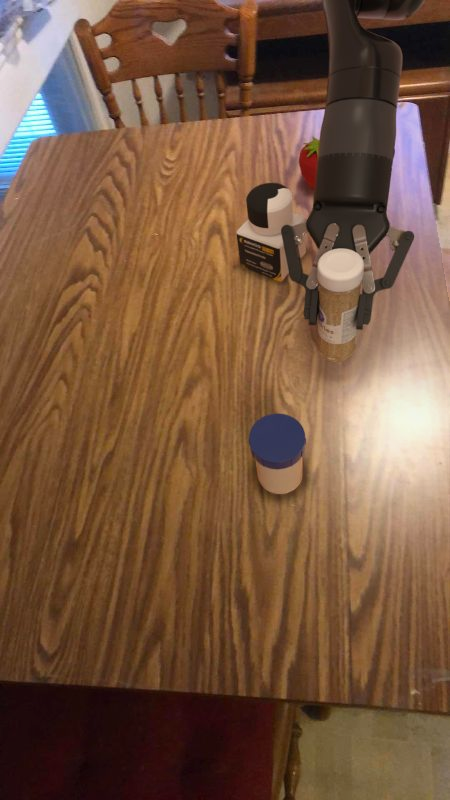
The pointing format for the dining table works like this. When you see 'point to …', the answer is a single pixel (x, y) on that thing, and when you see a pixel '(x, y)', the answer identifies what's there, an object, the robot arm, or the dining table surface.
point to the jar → (280, 477)
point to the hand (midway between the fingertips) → (336, 326)
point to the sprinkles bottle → (338, 303)
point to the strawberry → (309, 161)
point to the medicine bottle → (267, 230)
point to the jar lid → (277, 441)
